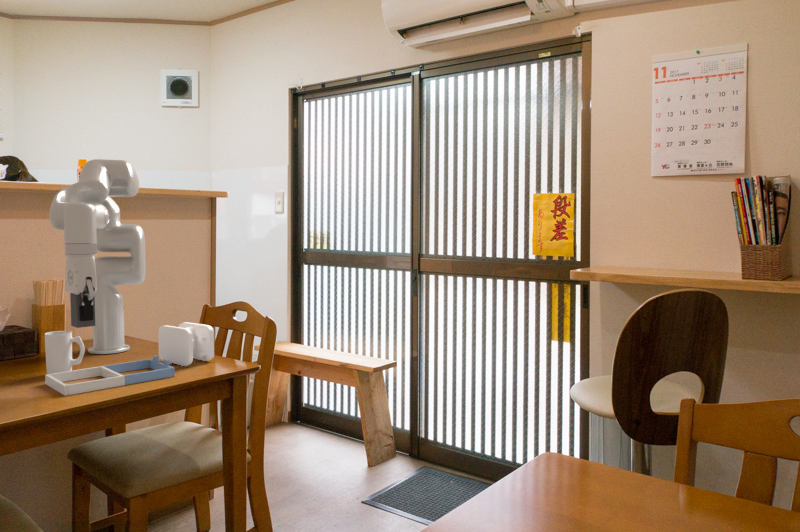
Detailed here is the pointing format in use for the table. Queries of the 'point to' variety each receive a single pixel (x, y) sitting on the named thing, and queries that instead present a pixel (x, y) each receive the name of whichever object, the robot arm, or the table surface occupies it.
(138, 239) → the robot arm
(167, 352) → the cable organizer
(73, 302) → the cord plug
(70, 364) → the mug
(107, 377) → the shallow tray
